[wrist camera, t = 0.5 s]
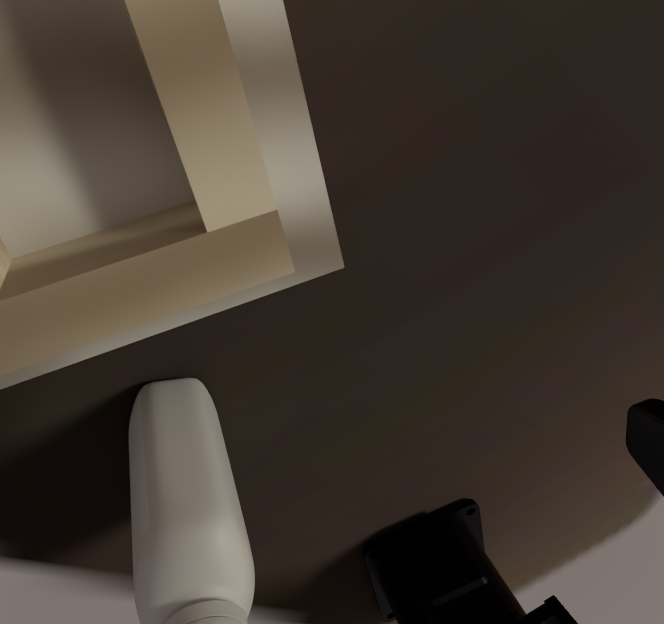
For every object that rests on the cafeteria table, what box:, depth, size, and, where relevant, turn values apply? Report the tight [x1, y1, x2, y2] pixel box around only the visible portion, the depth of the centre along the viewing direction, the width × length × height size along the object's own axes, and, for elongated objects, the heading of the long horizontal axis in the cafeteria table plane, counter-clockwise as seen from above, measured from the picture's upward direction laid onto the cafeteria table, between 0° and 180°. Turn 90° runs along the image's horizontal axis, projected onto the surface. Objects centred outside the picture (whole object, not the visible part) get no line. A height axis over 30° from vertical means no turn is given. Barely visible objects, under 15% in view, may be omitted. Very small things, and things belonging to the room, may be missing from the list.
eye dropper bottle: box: [129, 378, 255, 624], centre depth 18 cm, size 4×6×12 cm
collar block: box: [0, 0, 344, 389], centre depth 15 cm, size 16×14×4 cm
